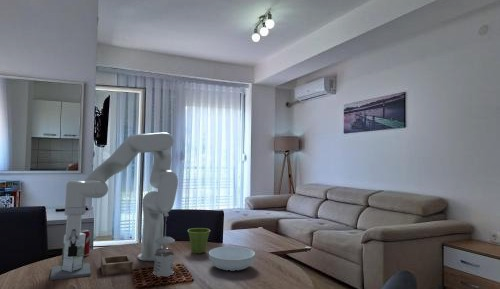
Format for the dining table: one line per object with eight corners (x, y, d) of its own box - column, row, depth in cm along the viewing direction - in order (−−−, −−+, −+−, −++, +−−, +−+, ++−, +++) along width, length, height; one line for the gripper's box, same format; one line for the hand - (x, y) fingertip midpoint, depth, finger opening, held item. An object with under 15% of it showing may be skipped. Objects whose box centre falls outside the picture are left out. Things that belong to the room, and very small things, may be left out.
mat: (89, 265, 145) (89, 263, 145) (90, 275, 133) (90, 273, 133) (52, 268, 139) (52, 266, 139) (49, 280, 126) (49, 277, 126)
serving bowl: (198, 266, 149) (199, 251, 150) (232, 258, 165) (232, 244, 165) (230, 279, 135) (231, 262, 136) (264, 268, 151) (264, 253, 151)
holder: (128, 263, 149) (129, 254, 150) (132, 271, 139) (132, 261, 140) (100, 266, 144) (101, 257, 144) (102, 274, 134) (103, 264, 134)
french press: (153, 279, 132) (157, 215, 133) (148, 270, 142) (151, 211, 143) (178, 276, 136) (181, 214, 137) (171, 267, 146) (173, 210, 148)
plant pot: (190, 248, 180) (191, 227, 180) (211, 250, 178) (212, 228, 179) (183, 254, 168) (184, 231, 169) (206, 256, 166) (207, 233, 167)
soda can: (82, 258, 155) (84, 232, 156) (70, 256, 156) (71, 231, 157) (92, 254, 162) (93, 229, 162) (80, 253, 163) (81, 228, 164)
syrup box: (72, 266, 140) (74, 231, 141) (83, 268, 138) (85, 233, 139) (60, 270, 135) (63, 233, 135) (72, 272, 133) (74, 235, 133)
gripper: (65, 208, 143) (62, 248, 142) (64, 214, 128) (60, 260, 127) (84, 207, 147) (82, 247, 146) (85, 213, 131) (83, 258, 130)
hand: (72, 253), depth 136 cm, fingers open, 9 cm apart
